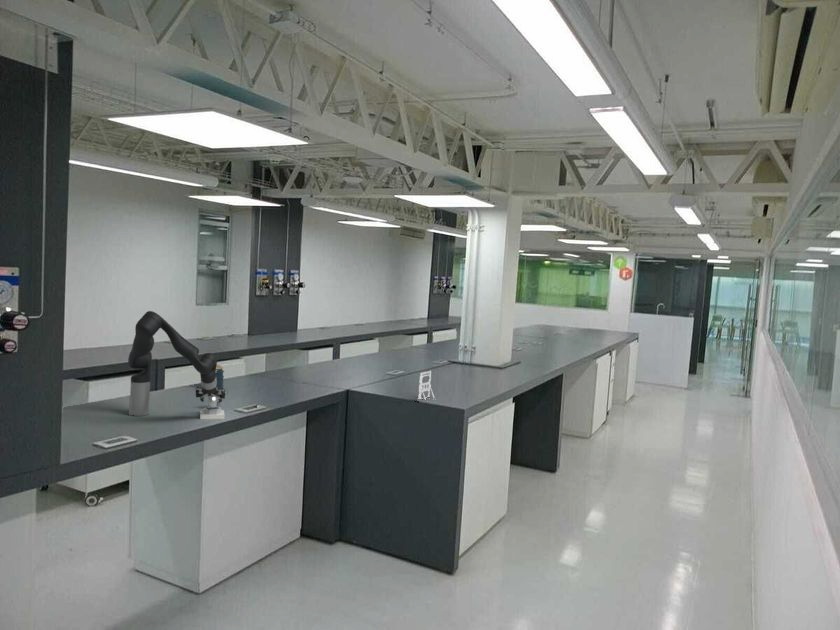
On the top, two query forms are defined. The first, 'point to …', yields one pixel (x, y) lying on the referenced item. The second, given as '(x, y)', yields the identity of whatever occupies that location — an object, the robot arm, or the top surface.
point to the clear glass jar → (211, 402)
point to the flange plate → (212, 413)
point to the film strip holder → (424, 385)
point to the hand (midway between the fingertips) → (211, 400)
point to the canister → (219, 376)
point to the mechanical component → (222, 398)
